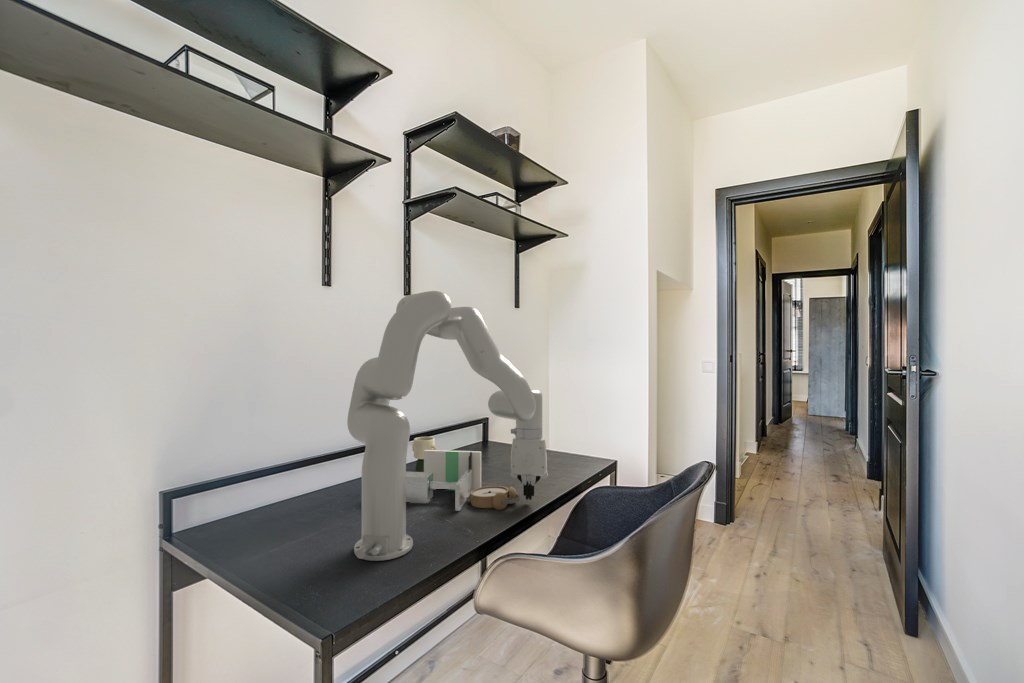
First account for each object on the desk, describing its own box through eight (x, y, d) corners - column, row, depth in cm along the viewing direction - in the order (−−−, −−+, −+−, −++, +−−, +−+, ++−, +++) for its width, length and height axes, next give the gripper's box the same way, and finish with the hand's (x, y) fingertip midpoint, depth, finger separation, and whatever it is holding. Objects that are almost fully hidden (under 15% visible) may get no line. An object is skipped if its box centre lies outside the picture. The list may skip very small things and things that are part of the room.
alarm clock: (484, 484, 141) (526, 483, 133) (486, 501, 140) (528, 500, 133) (461, 494, 131) (505, 494, 123) (463, 512, 131) (508, 512, 123)
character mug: (443, 476, 158) (443, 438, 158) (428, 481, 152) (428, 442, 152) (420, 471, 164) (420, 435, 164) (405, 476, 158) (405, 438, 158)
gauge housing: (427, 503, 132) (427, 477, 132) (383, 501, 133) (383, 476, 133) (433, 497, 137) (433, 472, 137) (390, 495, 139) (390, 470, 139)
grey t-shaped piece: (459, 510, 125) (459, 471, 125) (419, 509, 126) (419, 470, 126) (472, 490, 142) (472, 455, 142) (436, 489, 143) (437, 454, 143)
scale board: (480, 491, 142) (480, 452, 142) (423, 489, 144) (423, 450, 144) (481, 490, 144) (481, 451, 144) (425, 487, 146) (425, 449, 146)
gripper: (501, 435, 128) (500, 501, 128) (555, 436, 126) (555, 503, 126) (504, 430, 136) (504, 492, 136) (555, 431, 134) (555, 495, 134)
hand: (528, 498), depth 131 cm, fingers closed
